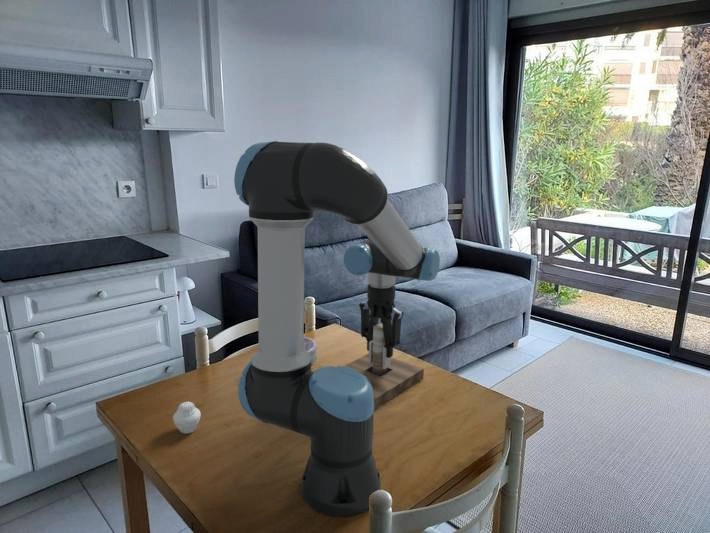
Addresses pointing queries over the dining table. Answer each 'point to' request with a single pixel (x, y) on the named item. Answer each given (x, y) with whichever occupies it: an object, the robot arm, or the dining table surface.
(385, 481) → the dining table surface
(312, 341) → the paper bowls
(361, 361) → the board
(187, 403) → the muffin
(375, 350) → the peg
